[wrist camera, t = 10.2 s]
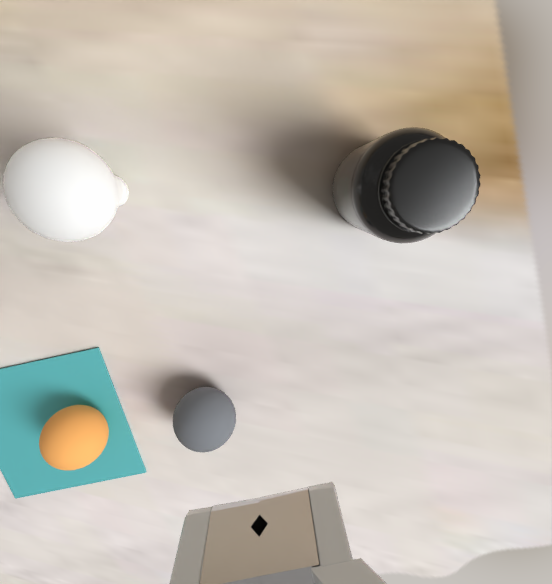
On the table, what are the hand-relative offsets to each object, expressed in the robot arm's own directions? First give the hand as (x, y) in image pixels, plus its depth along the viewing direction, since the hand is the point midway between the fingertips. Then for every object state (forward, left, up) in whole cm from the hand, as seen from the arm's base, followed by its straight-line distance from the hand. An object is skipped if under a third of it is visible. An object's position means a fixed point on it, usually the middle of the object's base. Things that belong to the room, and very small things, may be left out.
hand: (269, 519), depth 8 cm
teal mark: (-21, -16, -26) cm, 37 cm away
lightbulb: (-12, +6, -26) cm, 29 cm away
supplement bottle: (+9, +6, -26) cm, 28 cm away
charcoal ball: (-6, -13, -23) cm, 27 cm away
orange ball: (-18, -15, -23) cm, 32 cm away
